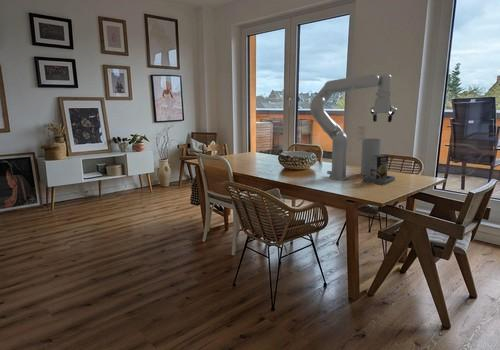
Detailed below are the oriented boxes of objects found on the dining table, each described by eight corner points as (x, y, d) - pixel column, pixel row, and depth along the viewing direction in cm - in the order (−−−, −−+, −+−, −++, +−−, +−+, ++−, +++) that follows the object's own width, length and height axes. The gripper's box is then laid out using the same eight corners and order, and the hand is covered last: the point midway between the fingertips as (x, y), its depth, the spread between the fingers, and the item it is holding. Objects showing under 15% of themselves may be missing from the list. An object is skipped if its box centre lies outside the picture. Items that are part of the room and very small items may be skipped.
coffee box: (376, 181, 224) (378, 156, 220) (369, 179, 229) (370, 155, 226) (387, 179, 227) (388, 155, 224) (379, 177, 233) (381, 154, 229)
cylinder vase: (359, 175, 244) (360, 140, 239) (362, 172, 255) (364, 138, 250) (377, 177, 239) (380, 141, 233) (380, 173, 249) (382, 138, 244)
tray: (362, 181, 228) (362, 177, 227) (373, 177, 239) (373, 173, 238) (384, 184, 218) (384, 181, 217) (394, 180, 229) (394, 176, 228)
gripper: (368, 95, 224) (366, 121, 227) (395, 94, 212) (393, 122, 215) (373, 94, 229) (372, 121, 233) (399, 94, 217) (397, 121, 221)
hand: (382, 121), depth 224 cm, fingers open, 9 cm apart
